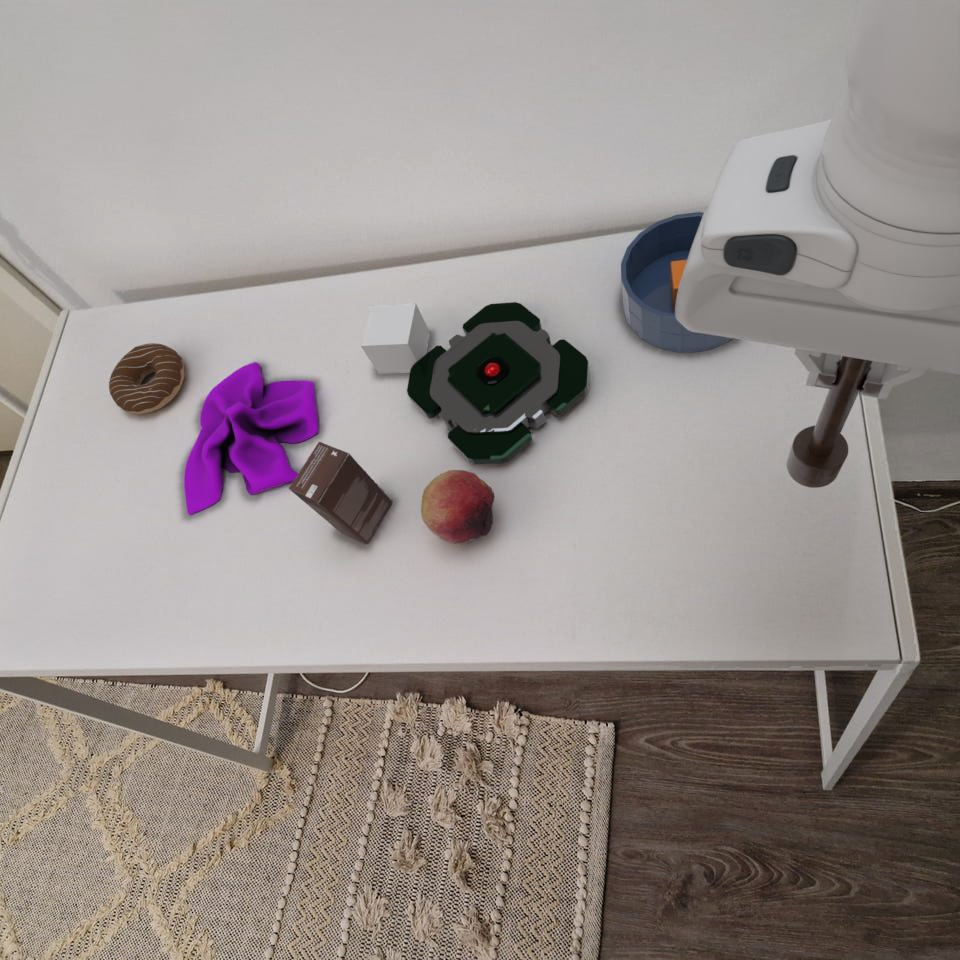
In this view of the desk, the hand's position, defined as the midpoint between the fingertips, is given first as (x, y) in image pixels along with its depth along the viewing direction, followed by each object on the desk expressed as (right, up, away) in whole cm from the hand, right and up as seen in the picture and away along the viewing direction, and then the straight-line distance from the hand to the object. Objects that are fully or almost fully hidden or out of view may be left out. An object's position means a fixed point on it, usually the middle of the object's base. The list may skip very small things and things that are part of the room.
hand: (846, 383), depth 43 cm
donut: (-67, +7, +55) cm, 87 cm away
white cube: (-32, +10, +47) cm, 58 cm away
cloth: (-51, -1, +47) cm, 70 cm away
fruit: (-23, -11, +35) cm, 43 cm away
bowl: (+3, +15, +41) cm, 44 cm away
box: (-35, -10, +38) cm, 53 cm away
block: (+2, +16, +40) cm, 43 cm away
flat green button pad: (-20, +5, +42) cm, 46 cm away
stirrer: (+2, -5, +10) cm, 11 cm away
